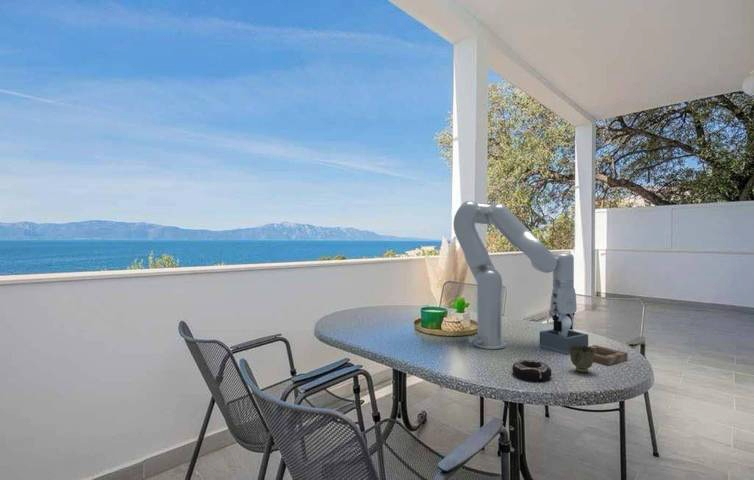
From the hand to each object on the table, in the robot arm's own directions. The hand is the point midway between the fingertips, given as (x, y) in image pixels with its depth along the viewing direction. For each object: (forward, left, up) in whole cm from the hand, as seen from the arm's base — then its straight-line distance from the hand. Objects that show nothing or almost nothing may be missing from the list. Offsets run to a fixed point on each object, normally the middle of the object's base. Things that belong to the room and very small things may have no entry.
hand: (563, 329), depth 155 cm
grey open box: (0, 0, -7) cm, 7 cm away
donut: (-36, -14, -8) cm, 39 cm away
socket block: (0, -15, -7) cm, 17 cm away
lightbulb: (0, 0, -5) cm, 5 cm away
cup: (-19, -20, -8) cm, 29 cm away
